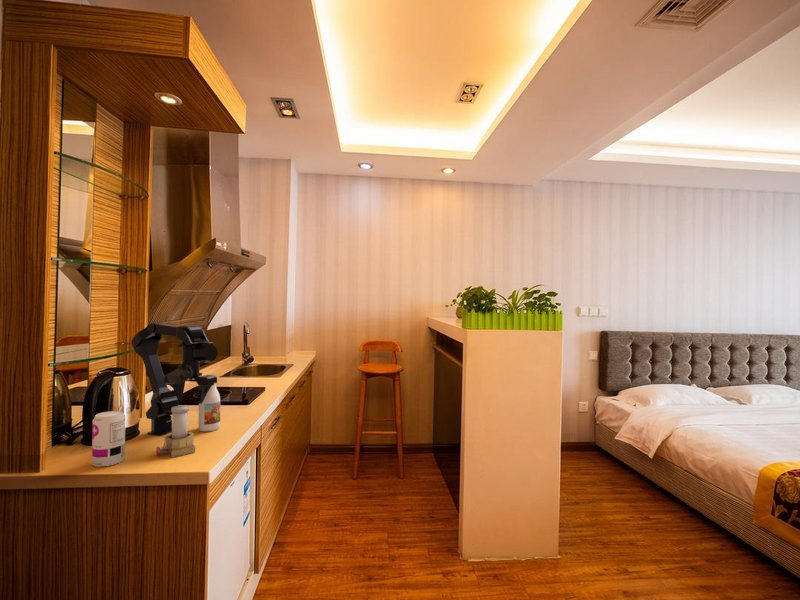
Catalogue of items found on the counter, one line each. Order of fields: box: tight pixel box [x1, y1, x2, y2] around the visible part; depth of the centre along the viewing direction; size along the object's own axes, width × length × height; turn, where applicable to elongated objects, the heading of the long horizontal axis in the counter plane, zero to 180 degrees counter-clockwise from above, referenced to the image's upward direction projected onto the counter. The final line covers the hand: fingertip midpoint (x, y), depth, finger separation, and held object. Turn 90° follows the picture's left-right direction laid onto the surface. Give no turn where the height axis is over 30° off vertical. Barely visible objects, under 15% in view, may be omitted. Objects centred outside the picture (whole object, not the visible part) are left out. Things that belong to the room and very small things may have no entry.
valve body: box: [155, 431, 196, 459], centre depth 133 cm, size 14×11×5 cm
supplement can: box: [91, 410, 126, 467], centre depth 123 cm, size 8×8×15 cm
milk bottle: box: [197, 383, 221, 433], centre depth 156 cm, size 8×8×20 cm
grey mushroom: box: [171, 404, 190, 439], centre depth 133 cm, size 5×5×12 cm
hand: (190, 402), depth 145 cm, fingers open, 9 cm apart
